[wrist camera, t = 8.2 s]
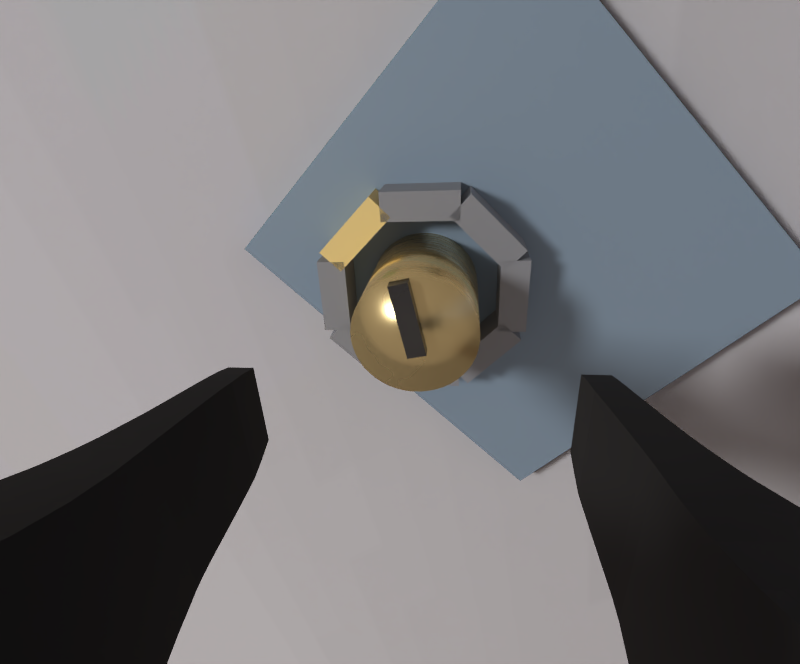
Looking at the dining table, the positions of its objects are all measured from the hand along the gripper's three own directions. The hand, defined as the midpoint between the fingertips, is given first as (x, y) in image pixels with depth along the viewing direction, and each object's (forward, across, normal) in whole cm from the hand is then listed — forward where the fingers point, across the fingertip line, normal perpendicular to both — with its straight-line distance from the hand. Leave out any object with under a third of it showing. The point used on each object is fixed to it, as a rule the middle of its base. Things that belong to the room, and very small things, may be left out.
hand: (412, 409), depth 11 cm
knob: (+9, 0, 0) cm, 9 cm away
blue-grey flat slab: (+10, -3, 0) cm, 10 cm away
